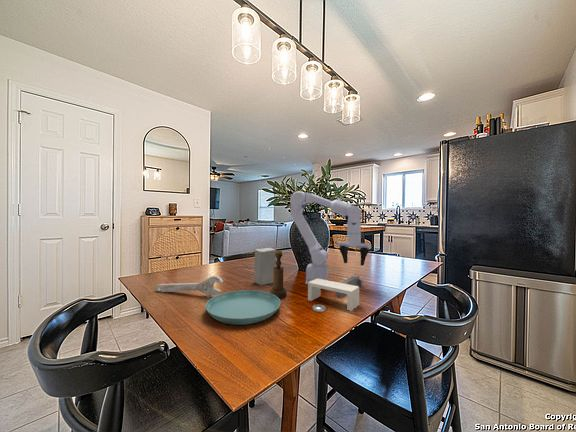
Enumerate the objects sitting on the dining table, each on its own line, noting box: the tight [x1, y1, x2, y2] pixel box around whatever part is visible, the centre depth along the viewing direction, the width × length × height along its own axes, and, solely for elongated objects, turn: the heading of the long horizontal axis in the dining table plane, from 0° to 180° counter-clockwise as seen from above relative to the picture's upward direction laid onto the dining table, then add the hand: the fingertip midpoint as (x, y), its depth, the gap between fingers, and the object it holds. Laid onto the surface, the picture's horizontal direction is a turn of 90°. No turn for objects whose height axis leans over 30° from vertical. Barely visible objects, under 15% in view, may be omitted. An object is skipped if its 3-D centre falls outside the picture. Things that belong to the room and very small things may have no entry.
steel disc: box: [312, 304, 327, 313], centre depth 81 cm, size 4×4×1 cm
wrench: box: [155, 275, 224, 298], centre depth 95 cm, size 8×2×30 cm
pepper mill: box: [269, 249, 288, 300], centre depth 94 cm, size 7×6×18 cm
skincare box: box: [254, 247, 277, 286], centre depth 111 cm, size 8×7×16 cm
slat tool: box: [335, 274, 363, 298], centre depth 102 cm, size 5×20×4 cm, turn 143°
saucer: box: [205, 289, 281, 326], centre depth 79 cm, size 24×24×3 cm
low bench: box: [307, 278, 360, 312], centre depth 88 cm, size 17×7×7 cm, turn 53°
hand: (353, 264), depth 106 cm, fingers open, 7 cm apart
